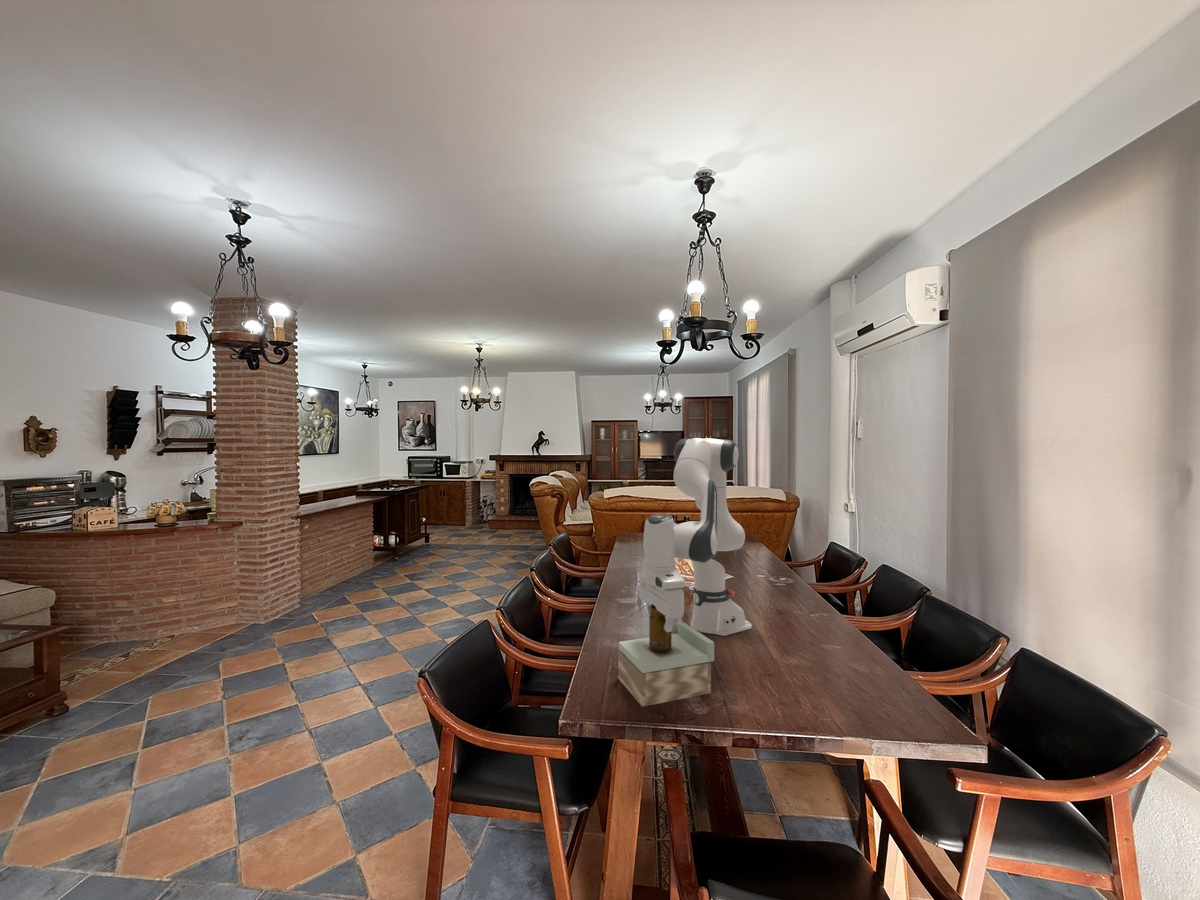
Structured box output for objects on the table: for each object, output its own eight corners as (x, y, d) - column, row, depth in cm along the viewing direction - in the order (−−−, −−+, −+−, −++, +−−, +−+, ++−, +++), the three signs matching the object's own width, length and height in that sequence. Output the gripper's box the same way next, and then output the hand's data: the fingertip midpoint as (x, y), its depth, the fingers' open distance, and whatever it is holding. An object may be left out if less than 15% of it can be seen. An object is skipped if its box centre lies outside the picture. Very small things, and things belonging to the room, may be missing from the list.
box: (680, 667, 139) (680, 640, 139) (710, 693, 124) (710, 662, 124) (618, 678, 132) (618, 650, 132) (642, 706, 117) (642, 674, 117)
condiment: (663, 641, 133) (663, 599, 133) (682, 652, 125) (682, 607, 126) (642, 646, 129) (641, 602, 130) (659, 657, 122) (659, 611, 122)
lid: (683, 639, 140) (683, 622, 140) (714, 661, 124) (714, 642, 125) (618, 648, 132) (618, 631, 133) (642, 673, 117) (642, 653, 117)
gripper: (633, 567, 137) (633, 614, 137) (666, 584, 118) (666, 640, 118) (653, 565, 139) (653, 612, 139) (688, 582, 120) (688, 636, 120)
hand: (659, 625), depth 128 cm, fingers open, 8 cm apart
